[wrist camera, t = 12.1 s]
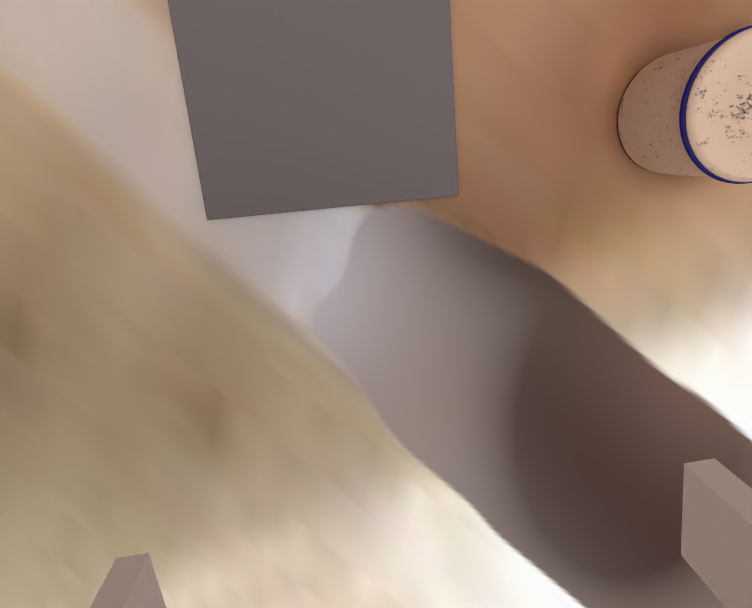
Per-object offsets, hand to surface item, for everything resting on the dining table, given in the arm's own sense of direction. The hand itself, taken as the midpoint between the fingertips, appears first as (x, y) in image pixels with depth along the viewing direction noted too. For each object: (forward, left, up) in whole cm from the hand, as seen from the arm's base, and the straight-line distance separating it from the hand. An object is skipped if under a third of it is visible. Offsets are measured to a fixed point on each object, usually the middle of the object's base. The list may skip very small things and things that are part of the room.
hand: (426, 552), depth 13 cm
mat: (-2, +15, -31) cm, 34 cm away
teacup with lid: (+25, +11, -31) cm, 41 cm away
